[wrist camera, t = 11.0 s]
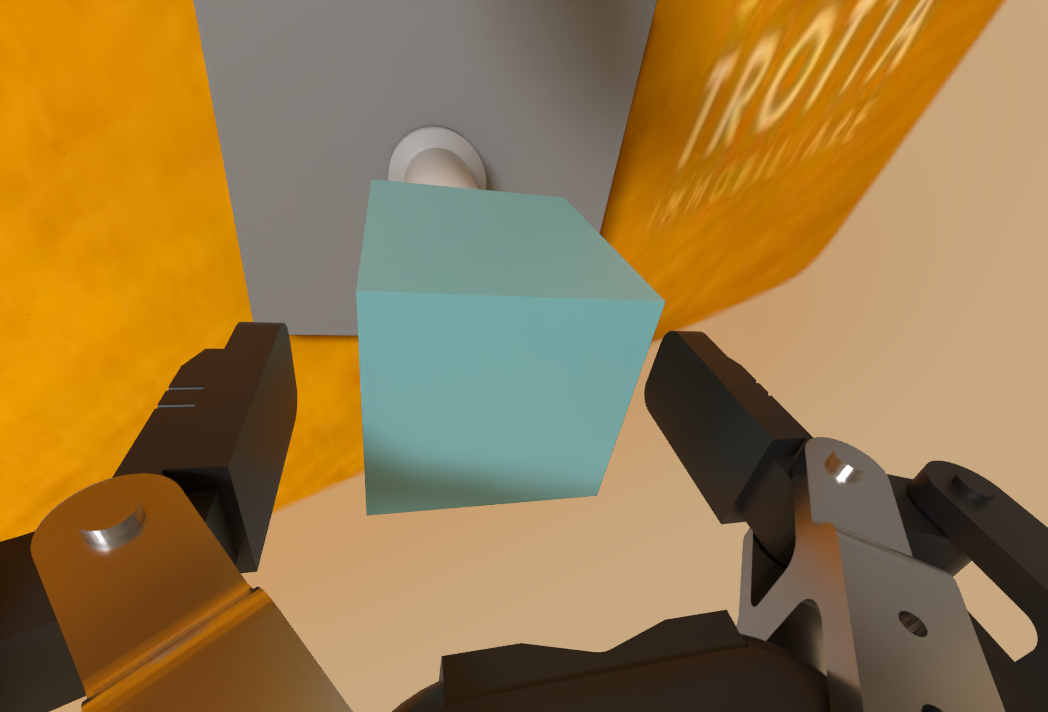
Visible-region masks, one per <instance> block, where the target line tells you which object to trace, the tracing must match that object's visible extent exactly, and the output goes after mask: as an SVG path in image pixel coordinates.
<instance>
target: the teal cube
mask: <svg viewBox="0 0 1048 712" xmlns="http://www.w3.org/2000/svg"><path fill="white" fill-rule="evenodd" d="M356 299H357V320H358V341H359V362H360V383H361V404H362V425H363V446H364V467H365V488H366V508H367V509H366V510H367V515H378V514H389V513H401V512H413V511H424V510H436V509H447V508H460V507H471V506H483V505H494V504H505V503H518V502H528V501H541V500H552V499H564V498H574V497H575V498H576V497H587V496H597V494H598V491H599V488H600V485H601V482H602V479H603V477H604V474H605V471H606V468H607V465H608V462H609V460H610V457H611V454H612V451H613V448H614V446H615V443H616V440H617V437H618V434H619V432H620V429H621V426H622V423H623V420H624V417H625V415H626V412H627V409H628V406H629V403H630V400H631V397H632V395H633V392H634V389H635V386H636V383H637V380H638V378H639V375H640V372H641V369H642V366H643V364H644V361H645V358H646V355H647V352H648V350H649V347H650V344H651V341H652V338H653V335H654V333H655V330H656V327H657V324H658V321H659V318H660V316H661V313H662V310H663V307H664V304H665V301H664V300H663V299H662V298H661V297H660V296H659V294H658V293H657V292H656V291H655V290H654V289H653V288H652V287H651V286H650V285H649V284H648V283H647V282H646V281H645V280H644V279H643V278H642V277H641V276H640V275H639V274H638V273H637V272H636V271H635V270H634V269H633V268H632V267H631V266H630V265H629V264H628V263H627V262H626V261H625V260H624V259H623V257H622V256H621V255H620V254H619V253H618V252H617V251H616V250H615V249H614V248H613V247H612V246H611V245H610V244H609V243H608V242H607V241H606V240H605V239H604V238H603V237H602V236H601V235H600V234H599V233H598V232H597V231H596V230H595V229H594V228H593V227H592V226H591V225H590V224H589V223H588V221H587V220H586V219H585V218H584V217H583V216H582V215H581V214H580V213H579V212H578V211H577V210H576V209H575V208H574V207H573V206H572V205H571V204H570V203H569V202H568V201H567V200H566V199H565V198H563V197H553V196H542V195H532V194H522V193H511V192H501V191H490V190H480V189H469V188H459V187H448V186H438V185H427V184H417V183H407V182H396V181H386V180H375V179H371V187H370V194H369V201H368V208H367V216H366V223H365V230H364V237H363V245H362V252H361V259H360V266H359V273H358V281H357V288H356Z"/></svg>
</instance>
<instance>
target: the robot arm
mask: <svg viewBox="0 0 1048 712" xmlns="http://www.w3.org/2000/svg"><path fill="white" fill-rule="evenodd" d="M644 393H645V395H644V396H645V403H646V406H647V409H648V411H649V412H650V414H651V415H652V417H653V419H654V420H655V422H656V423H657V425H658V426H659V428H660V430H661V431H662V433H663V434H664V436H665V437H666V439H667V440H668V442H669V444H670V445H671V447H672V448H673V450H674V451H675V453H676V454H677V456H678V458H679V459H680V461H681V462H682V464H683V465H684V467H685V469H686V470H687V472H688V473H689V475H690V476H691V478H692V479H693V481H694V482H695V484H696V486H697V487H698V489H699V490H700V492H701V493H702V495H703V496H704V498H705V500H706V501H707V502H708V504H709V506H710V507H711V509H712V511H713V512H714V514H715V515H716V517H717V518H718V520H719V521H720V523H721V524H728V523H738V522H747V524H748V525H749V526H750V528H749V530H748V531H747V533H746V534H745V536H744V540H743V552H742V570H741V587H740V604H739V617H738V622H737V626H735V624H734V622H733V620H732V619H731V617H730V615H729V613H728V611H727V610H722V611H716V612H710V613H704V614H698V615H692V616H686V617H680V618H673V619H667V620H664V621H662V622H660V623H658V624H657V625H655V626H653V627H651V628H649V629H647V630H646V631H644V632H642V633H640V634H638V635H637V636H635V637H633V638H631V639H629V640H627V641H625V642H624V643H622V644H620V645H618V646H616V647H615V648H613V649H611V650H608V651H606V652H588V651H580V650H571V649H564V648H555V647H548V646H539V645H530V644H523V643H520V644H514V645H508V646H502V647H495V648H489V649H484V650H478V651H471V652H465V653H459V654H452V655H446V656H442V659H441V667H440V676H439V681H438V682H436V683H434V684H432V685H430V686H429V687H427V688H424V689H423V690H421V691H419V692H418V693H416V694H415V695H413V696H412V697H410V698H409V699H407V700H406V701H404V702H403V703H402V704H400V705H399V706H398V707H397V708H396V709H394V710H393V711H392V712H1048V528H1047V527H1046V526H1045V525H1044V524H1043V523H1041V522H1040V521H1039V520H1038V519H1036V518H1035V517H1034V516H1033V515H1032V514H1030V513H1029V512H1028V511H1027V510H1025V509H1024V508H1023V507H1022V506H1020V505H1019V504H1018V503H1017V502H1016V501H1014V500H1013V499H1012V498H1011V497H1010V496H1008V495H1007V494H1006V493H1005V492H1003V491H1002V490H1001V489H1000V488H998V487H997V486H996V485H994V484H993V483H991V482H990V481H989V480H987V479H985V478H984V477H982V476H980V475H979V474H977V473H975V472H973V471H971V470H969V469H967V468H964V467H961V466H959V465H956V464H953V463H949V462H945V461H931V462H929V463H928V464H926V466H925V467H924V468H923V469H922V470H921V471H920V472H919V473H918V475H917V476H916V477H915V478H914V479H908V478H903V477H899V476H894V475H888V474H886V473H885V471H884V470H883V469H882V468H881V467H880V466H879V465H878V464H877V463H876V462H875V461H874V460H873V459H871V458H870V457H869V456H868V455H866V454H865V453H863V452H862V451H860V450H858V449H857V448H855V447H853V446H851V445H848V444H846V443H844V442H842V441H838V440H835V439H831V438H825V437H816V438H813V437H812V436H811V435H810V434H809V433H808V432H807V431H806V430H805V429H804V428H803V427H802V426H801V425H800V424H799V423H798V422H797V421H796V420H795V419H794V418H793V417H792V416H791V415H790V414H789V413H788V412H787V411H786V410H785V409H784V408H783V407H782V406H781V405H780V404H779V403H778V402H777V401H776V400H775V399H774V398H773V397H772V396H768V392H767V391H766V390H765V389H764V388H763V387H762V386H761V385H760V384H759V383H756V380H755V379H754V378H753V377H752V376H751V375H750V374H749V373H748V372H747V371H746V370H745V369H744V368H743V367H742V366H741V365H740V364H738V363H737V362H735V361H734V360H732V359H730V358H729V357H727V356H726V355H725V354H724V353H723V352H722V351H721V350H720V349H719V348H718V346H716V344H715V343H714V342H712V340H710V338H709V337H708V336H707V335H706V334H704V333H703V332H695V331H670V332H668V333H667V334H666V335H665V336H664V337H663V339H662V342H661V344H660V347H659V350H658V352H657V355H656V358H655V361H654V363H653V366H652V369H651V371H650V374H649V377H648V379H647V382H646V386H645V392H644ZM296 412H297V388H296V381H295V374H294V367H293V360H292V353H291V346H290V339H289V333H288V328H287V326H286V324H285V323H270V322H239V323H238V324H237V326H236V327H235V329H234V331H233V333H232V335H231V337H230V339H229V341H228V343H227V345H226V346H225V348H224V349H205V350H203V351H202V352H200V353H199V354H198V355H196V356H195V357H193V358H192V359H191V360H189V361H188V362H186V363H185V364H184V365H182V366H181V368H180V369H179V371H178V372H177V374H176V376H175V377H174V379H173V380H172V382H171V384H170V385H169V391H166V392H165V393H164V395H163V397H162V398H161V400H160V401H159V403H158V409H154V411H153V413H152V414H151V416H150V418H149V419H148V421H147V422H146V424H145V426H144V427H143V429H142V430H141V432H140V434H139V435H138V437H137V439H136V440H135V442H134V443H133V445H132V447H131V448H130V450H129V451H128V453H127V455H126V456H125V458H124V460H123V461H122V463H121V464H120V466H119V468H118V469H117V471H116V472H115V474H114V476H113V477H112V478H111V479H107V480H104V481H101V482H99V483H96V484H93V485H91V486H89V487H87V488H85V489H83V490H81V491H79V492H77V493H75V494H74V495H72V496H70V497H69V498H67V499H66V500H64V501H63V502H62V503H60V504H59V505H58V506H57V507H55V508H54V509H53V510H52V511H51V512H50V513H49V514H48V515H47V516H46V517H45V518H44V519H43V520H42V522H41V523H40V525H39V526H38V528H37V529H36V531H34V532H31V533H28V534H25V535H22V536H19V537H16V538H12V539H9V540H5V541H1V542H0V712H49V711H52V710H54V709H56V708H58V707H61V706H63V705H65V704H68V703H70V702H72V701H75V700H77V699H80V698H82V697H84V696H87V699H86V700H85V701H83V702H82V705H81V708H82V712H353V711H352V710H351V709H350V707H349V706H348V704H346V702H345V700H344V699H343V698H342V696H341V695H340V693H339V692H338V691H337V689H336V688H335V686H334V685H333V684H332V682H331V681H330V680H329V678H328V677H327V675H326V674H325V673H324V671H323V670H322V668H321V667H320V666H319V664H318V663H317V661H316V660H315V659H314V657H313V656H312V654H311V653H310V652H309V650H308V649H307V647H306V646H305V645H304V643H303V642H302V640H301V639H300V638H299V636H298V635H297V634H296V632H295V631H294V629H293V628H292V627H291V625H290V624H289V622H288V621H287V620H286V618H285V617H284V615H283V614H282V613H281V611H280V610H279V608H278V607H277V606H276V604H275V603H274V602H273V601H272V599H271V598H270V597H269V596H268V594H267V593H266V592H265V591H264V590H263V589H261V588H260V587H256V588H254V589H253V588H251V587H250V585H249V584H248V583H247V582H246V580H245V579H244V578H243V576H242V575H241V573H248V572H256V571H257V570H258V566H259V562H260V558H261V554H262V550H263V546H264V542H265V538H266V534H267V530H268V526H269V522H270V518H271V514H272V510H273V506H274V502H275V498H276V495H277V491H278V487H279V483H280V479H281V475H282V471H283V467H284V463H285V459H286V455H287V451H288V447H289V443H290V439H291V435H292V431H293V427H294V423H295V419H296ZM971 561H973V562H974V563H975V564H976V565H977V566H978V567H979V568H980V569H981V570H982V571H983V572H984V573H985V574H986V575H987V576H988V577H989V578H990V579H991V580H992V581H993V582H994V583H995V584H996V585H997V586H998V587H999V588H1000V589H1001V590H1002V591H1003V592H1004V593H1005V594H1006V595H1007V596H1008V597H1009V598H1010V599H1011V600H1012V601H1013V602H1015V604H1016V605H1017V606H1018V607H1019V608H1020V609H1021V610H1022V611H1023V612H1024V613H1025V614H1026V615H1027V616H1028V617H1029V618H1030V620H1031V621H1032V623H1033V625H1034V626H1035V629H1036V631H1037V636H1038V642H1037V646H1036V647H1035V649H1034V650H1033V651H1031V652H1030V653H1028V654H1027V655H1025V656H1024V657H1022V658H1021V659H1019V660H1017V661H1016V662H1014V661H1013V660H1012V659H1011V658H1010V657H1009V655H1008V654H1007V653H1006V652H1005V651H1004V650H1003V649H1002V648H1001V647H1000V646H999V645H998V643H996V641H995V640H994V639H993V638H992V637H991V636H990V635H989V634H988V632H987V631H986V630H985V629H984V628H983V627H982V626H981V625H980V624H979V623H978V622H977V620H976V619H975V618H974V617H973V616H972V615H971V614H970V613H969V612H968V611H967V609H966V606H965V603H964V601H963V598H962V595H961V593H960V590H959V588H958V585H957V583H956V581H955V580H954V578H953V576H955V575H956V574H957V573H958V572H959V571H960V570H961V569H963V568H964V567H965V566H966V565H967V564H968V563H970V562H971Z"/></svg>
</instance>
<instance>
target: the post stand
mask: <svg viewBox="0 0 1048 712" xmlns="http://www.w3.org/2000/svg"><path fill="white" fill-rule="evenodd" d="M656 2H657V0H194V6H195V11H196V17H197V22H198V27H199V33H200V38H201V43H202V49H203V54H204V59H205V65H206V70H207V76H208V81H209V86H210V92H211V97H212V102H213V108H214V113H215V118H216V124H217V129H218V135H219V140H220V145H221V151H222V156H223V161H224V167H225V172H226V177H227V183H228V188H229V194H230V199H231V204H232V210H233V215H234V220H235V226H236V231H237V236H238V242H239V247H240V253H241V258H242V263H243V269H244V274H245V279H246V285H247V290H248V295H249V301H250V306H251V312H252V317H253V322H270V323H285V324H286V326H287V328H288V333H289V335H358V320H357V299H356V288H357V281H358V273H359V266H360V259H361V252H362V245H363V237H364V230H365V223H366V216H367V208H368V201H369V194H370V187H371V179H375V180H386V181H396V182H407V183H417V184H427V185H438V186H448V187H459V188H469V189H480V190H490V191H501V192H511V193H522V194H532V195H542V196H553V197H563V198H565V199H566V200H567V201H568V202H569V203H570V204H571V205H572V206H573V207H574V208H575V209H576V210H577V211H578V212H579V213H580V214H581V215H582V216H583V217H584V218H585V219H586V220H587V221H588V223H589V224H590V225H591V226H592V227H593V228H594V229H595V230H596V231H597V232H598V233H599V234H600V230H601V226H602V222H603V218H604V213H605V209H606V205H607V201H608V197H609V193H610V189H611V185H612V181H613V177H614V173H615V169H616V165H617V161H618V157H619V153H620V149H621V144H622V140H623V136H624V132H625V128H626V124H627V120H628V116H629V112H630V108H631V104H632V100H633V96H634V92H635V88H636V84H637V79H638V75H639V71H640V67H641V63H642V59H643V55H644V51H645V47H646V43H647V39H648V35H649V31H650V27H651V23H652V19H653V15H654V10H655V6H656Z"/></svg>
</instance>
